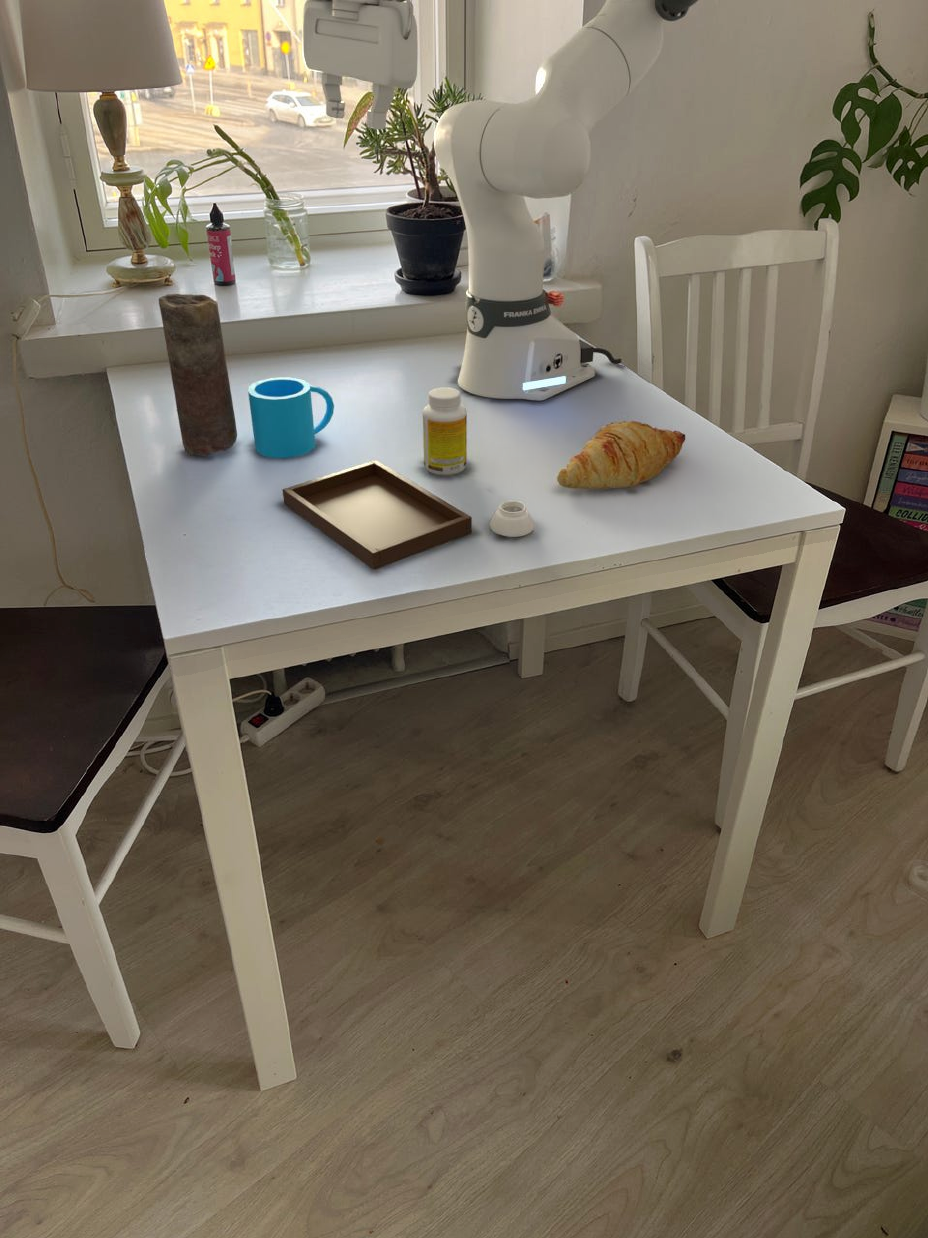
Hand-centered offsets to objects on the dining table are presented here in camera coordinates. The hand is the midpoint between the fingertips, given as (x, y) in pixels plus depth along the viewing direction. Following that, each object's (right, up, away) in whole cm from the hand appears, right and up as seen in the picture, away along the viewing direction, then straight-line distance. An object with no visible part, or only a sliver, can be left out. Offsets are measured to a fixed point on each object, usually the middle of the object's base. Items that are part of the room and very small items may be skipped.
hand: (354, 122), depth 115 cm
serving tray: (+3, -47, -1) cm, 48 cm away
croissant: (+33, -41, +10) cm, 53 cm away
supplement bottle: (+11, -40, +11) cm, 43 cm away
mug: (-10, -35, +17) cm, 40 cm away
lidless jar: (+19, -49, -3) cm, 53 cm away
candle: (-21, -36, +16) cm, 45 cm away
